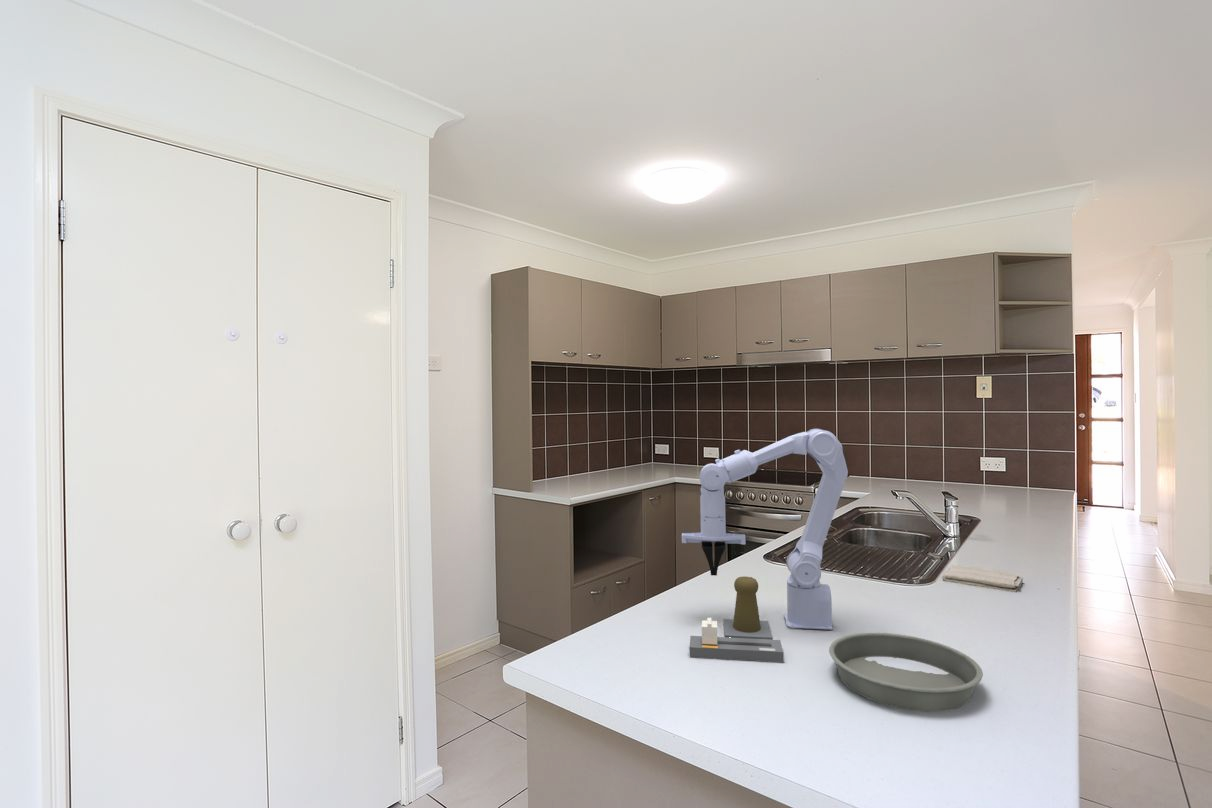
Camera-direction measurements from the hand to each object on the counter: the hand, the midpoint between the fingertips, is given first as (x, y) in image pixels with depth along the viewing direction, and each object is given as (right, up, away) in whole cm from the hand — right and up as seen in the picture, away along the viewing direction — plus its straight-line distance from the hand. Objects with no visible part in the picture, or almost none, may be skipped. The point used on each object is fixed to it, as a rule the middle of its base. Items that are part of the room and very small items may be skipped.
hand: (713, 574), depth 141 cm
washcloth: (+78, -10, +25) cm, 83 cm away
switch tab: (-4, -8, -19) cm, 21 cm away
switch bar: (+1, -10, -19) cm, 22 cm away
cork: (+6, -10, -7) cm, 14 cm away
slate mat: (+6, -10, -7) cm, 14 cm away
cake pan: (+28, -11, -32) cm, 44 cm away
